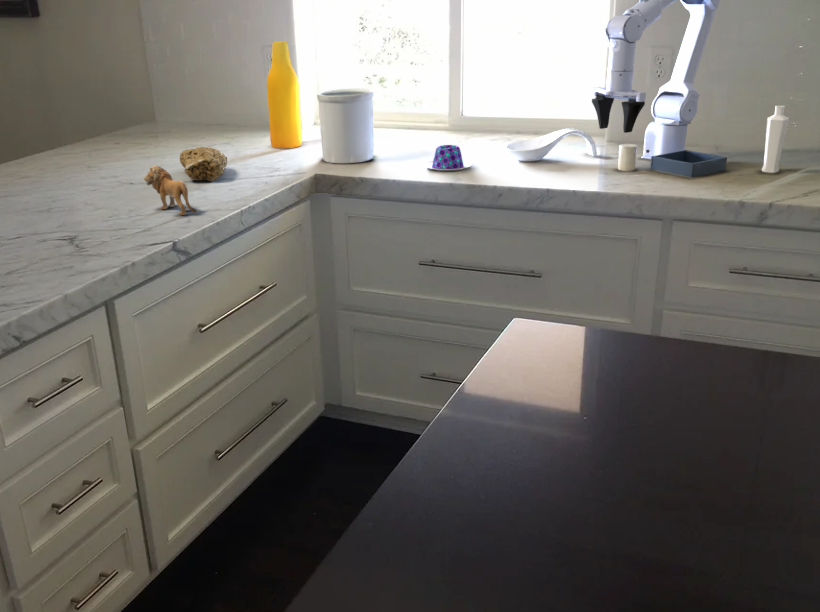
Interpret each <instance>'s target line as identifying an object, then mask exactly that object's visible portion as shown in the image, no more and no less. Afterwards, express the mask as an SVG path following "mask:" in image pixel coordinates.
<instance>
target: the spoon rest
mask: <svg viewBox="0 0 820 612" xmlns="http://www.w3.org/2000/svg"><path fill="white" fill-rule="evenodd" d="M573 135H577V136H580V137H581V138H583V139H584V140H585V142H586V152H587V154H588V155H589V156H592V157H596V156H597V150H598V149H597V145H596V142H595V141H594V139H593V137H592V136H591V135H590V134H589V133H587V132H585V131H582V130H581V129H578V128H573V127H568V128H562V129H559V130H556V131H553V132H550V133H547V134H544V135H541V136H538V137H533V138H529V139H523V140H519V141H513V142H510V143H508V144H506V145H505V146H504V149H505V151H506V153H507V154H508V155H509V156H510V157H511V158H512V159H514V160H517V161H519V162H526V163H527V162H529V163H531V162H539V161H541V160H543V158H544V157H546V156H547V155H548V154H549V153H550V152H551V150H552V149H554V147H556V145H557V144H558V143H560V142H561V140H563V139H565V138H566V137H568V136H573Z"/></svg>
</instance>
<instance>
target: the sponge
mask: <svg viewBox="0 0 820 612" xmlns="http://www.w3.org/2000/svg"><path fill="white" fill-rule="evenodd" d="M179 163H180V164H181V166H182V167H183V168H184V172H185V174H186V176H187V177H188V178H190V179H191V180H195V181H208V182H213V181H216V180H218V179H219V178H221V176H222V175H223V174H224V173H225V168H226V167H227V165H228V157H227V156H226V155H225V154H224V153H223V152H221V151H220V150H219V149H216V148H213V147H206V146H200V147H195V148H191V149H185V150H183V151H181V153H180V154H179Z"/></svg>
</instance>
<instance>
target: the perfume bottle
mask: <svg viewBox="0 0 820 612" xmlns="http://www.w3.org/2000/svg"><path fill="white" fill-rule="evenodd" d="M774 106H775V107H774V113H773V115H770V116H768V117H767V119H766V129H765V130H766V132H765V140H764V141H765V144H764V155H763V165H762V167H761V171H762V173H771V174H774V173H775V174H776V173H779V172H780V169H779V168H780V167H779V165H780V162H781V161H780V160H781V156H782V153H783V152H782V151H783V148H784V143H785V140H786V135H787V131H788V126H789V122H790V118H789V117H788V116H787V115H784V114H785V113H784V112H785V108H786V105H774Z"/></svg>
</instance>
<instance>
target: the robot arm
mask: <svg viewBox="0 0 820 612" xmlns="http://www.w3.org/2000/svg"><path fill="white" fill-rule="evenodd" d="M677 1H678V0H639V1H638V2H637V3H636V4H634V5H633V6H632V7H629V8H627V9H625V12H624V13H622V14H619V15H618V14H617V15H614V16H613V17H612V18H611V19H609V21H608V22H607V25H606V28H604V34H605V37H606V40H607V47H608V49H609V50H608V64H607V75H606V76H607V77H606V87H600V86H597V87H593V88H592V97H594V98H592V99H591V103H592V106H593V108H594V109H595V112H596V113H595V114H596V116H597V121H598V122H597V123H598V128H599V129H601V130H604V129H608V128H609V124H610V116H611V115H610V114H611V110H612V107H613V103H614V101H615V99H616V100H617V99H618V100H625V101H621V106H622V112H623V124H622V127H623V129H622V130H623V133H624V134H625V133H626V134H627V133H632V132H633V130H634V126H635V124H636V121H637V118H638V117H639V115H640V112H641V111H642V110H643V108H644V107H645V105H646V97H647V92H645V91H639V90H635V89H633V80H634V68H635V58H636V45H637V42H638V41H640V39H641V38H642V36H643V33H644V32H645V30H646V29H647V28H649V27H650V26H651V25H653V24H654V23H655V22H656V21H657V20H659V19H660V18H661V16H662V13H663V10H665V9H667V7H670V6H671V5H673V4H674V3H676V2H677ZM679 1H680V3H681V4H682V5H683V7H684V8H685V10H687V11H688V12H689V14H690V16H689V20H688V23H687V27H686V30H685V33H684V36H683V39H682V42H681V45H680V49H679V52H678V55H677V58H676V62H675V64H674V67H673V71H672V74H671V77H670V80H669V81H668V82H666V83H665V84H663V85H662V86H660V87H659V90H658V92H657V95H656V96H655V97H654V99H653V101H652V103H651V108H650V111H651V115H652V117H653V119H654V121H651V122H650V123H649V124H647V127H646V129H645V133H644V143H643V153H642V155H641V159H649V160H651V156H656V155H661V154H666V153H672V152H677V151H683V150H686V143H687V134H688V126H689V125H690V124H691V122H692V121H693V120H694V119H695V118H696V115H697V112H698V101H699V97H700V94H699V92H698V90H697V89H696V88H695V87H694V85H693V84H694V82H695V79H696V76H697V72H698V69H699V66H700V63H701V60H702V57H703V54H704V50H705V48H706V45H707V43H708V39H709V35H710V32H711V30H712V26H713V23H714V20H715V17H716V13H717V10H718V9H719V6H720V5H719V4H720V1H721V0H679Z"/></svg>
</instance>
